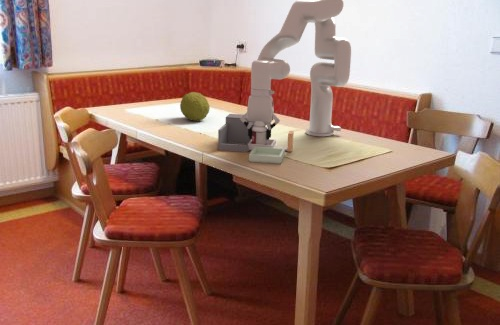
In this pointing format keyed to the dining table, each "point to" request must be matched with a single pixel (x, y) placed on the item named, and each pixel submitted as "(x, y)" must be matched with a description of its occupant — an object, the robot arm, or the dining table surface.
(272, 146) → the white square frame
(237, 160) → the dining table surface
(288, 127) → the dining table surface
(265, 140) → the pill bottle
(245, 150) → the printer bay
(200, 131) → the dining table surface
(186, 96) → the fruit
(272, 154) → the tray
